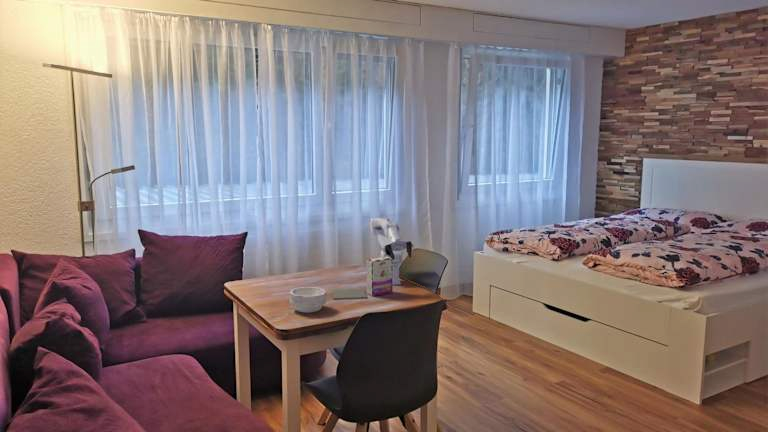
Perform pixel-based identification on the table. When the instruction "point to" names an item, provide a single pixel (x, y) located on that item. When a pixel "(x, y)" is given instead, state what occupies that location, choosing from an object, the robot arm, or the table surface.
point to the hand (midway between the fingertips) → (402, 256)
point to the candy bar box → (379, 276)
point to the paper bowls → (308, 299)
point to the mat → (349, 294)
